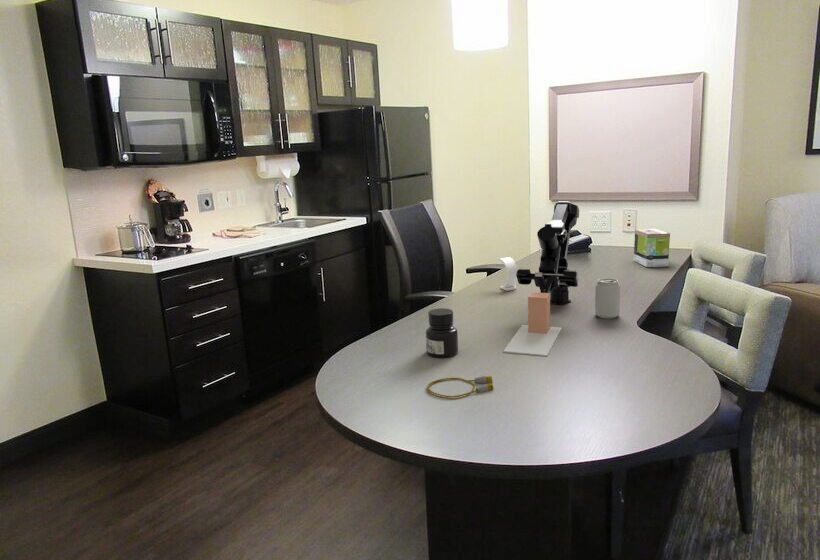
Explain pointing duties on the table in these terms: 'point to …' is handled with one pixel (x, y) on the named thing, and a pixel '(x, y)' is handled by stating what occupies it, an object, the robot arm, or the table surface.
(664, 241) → the tea box
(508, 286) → the headphone stand
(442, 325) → the ink bottle
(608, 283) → the can
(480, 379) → the extension cord
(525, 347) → the mat
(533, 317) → the block
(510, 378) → the table surface
